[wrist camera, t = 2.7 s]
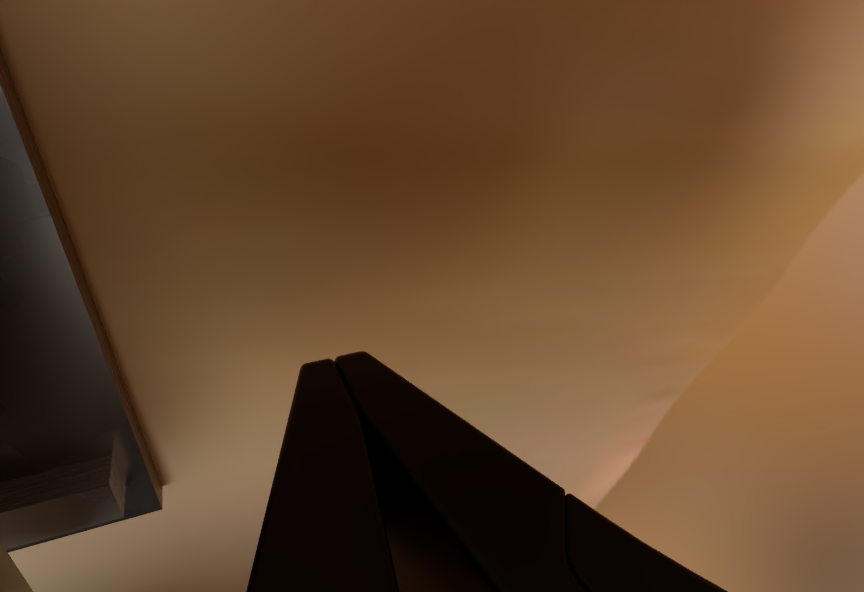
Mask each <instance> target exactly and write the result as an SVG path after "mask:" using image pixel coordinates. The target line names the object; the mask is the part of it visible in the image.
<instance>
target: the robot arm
mask: <svg viewBox="0 0 864 592" xmlns="http://www.w3.org/2000/svg"><path fill="white" fill-rule="evenodd" d="M246 592H728V591H726V590H724V589H722V588H721V587H719V586H717V585H715V584H714V583H712V582H710V581H708V580H706V579H704V578H703V577H701V576H699V575H698V574H696V573H694V572H693V571H691V570H689V569H687V568H686V567H684V566H682V565H681V564H679V563H677V562H676V561H674V560H672V559H671V558H669V557H667V556H666V555H664V554H662V553H661V552H659V551H657V550H656V549H654V548H652V547H650V546H649V545H647V544H645V543H644V542H642V541H641V540H639V539H638V538H636V537H634V536H633V535H632V534H630V533H629V532H627V531H625V530H624V529H622V528H621V527H619V526H618V525H616V524H615V523H613V522H612V521H610V520H609V519H607V518H606V517H604V516H603V515H601V514H599V513H598V512H597V511H595V510H594V509H592V508H591V507H589V506H588V505H587V504H585V503H584V502H582V501H581V500H579V499H578V498H576V497H575V496H574V495H572V494H567V495H566V496H565V490H564V489H563V488H562V487H560V486H559V485H557V484H556V483H554V482H553V481H551V480H550V479H549V478H547V477H546V476H544V475H543V474H541V473H540V472H538V471H537V470H536V469H534V468H533V467H531V466H530V465H528V464H527V463H526V462H524V461H523V460H521V459H520V458H518V457H517V456H515V455H514V454H513V453H511V452H510V451H508V450H507V449H505V448H504V447H502V446H501V445H500V444H498V443H497V442H495V441H494V440H492V439H491V438H489V437H488V436H487V435H485V434H484V433H482V432H481V431H479V430H478V429H476V428H475V427H474V426H472V425H471V424H469V423H468V422H466V421H465V420H463V419H462V418H461V417H459V416H458V415H456V414H455V413H453V412H452V411H451V410H449V409H448V408H446V407H445V406H443V405H442V404H440V403H439V402H438V401H436V400H435V399H433V398H432V397H430V396H429V395H427V394H426V393H425V392H423V391H422V390H420V389H419V388H417V387H416V386H414V385H413V384H412V383H410V382H409V381H407V380H406V379H404V378H403V377H401V376H400V375H399V374H397V373H396V372H394V371H393V370H391V369H390V368H388V367H387V366H386V365H384V364H383V363H381V362H380V361H378V360H377V359H375V358H374V357H373V356H371V355H370V354H368V353H366V352H363V351H362V352H356V353H351V354H347V355H342V356H338V357H337V358H336V359H335V361H333V360H332V359H324V360H319V361H315V362H310V363H306V364H304V365H302V367H301V369H300V372H299V377H298V381H297V385H296V389H295V393H294V397H293V401H292V405H291V410H290V414H289V418H288V422H287V426H286V430H285V434H284V438H283V443H282V447H281V451H280V455H279V459H278V463H277V467H276V471H275V476H274V480H273V484H272V488H271V492H270V496H269V500H268V504H267V509H266V513H265V517H264V521H263V525H262V529H261V533H260V537H259V542H258V546H257V550H256V554H255V558H254V562H253V566H252V570H251V575H250V579H249V583H248V587H247V591H246Z"/></svg>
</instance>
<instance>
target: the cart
mask: <svg viewBox="0 0 864 592" xmlns="http://www.w3.org/2000/svg"><path fill="white" fill-rule="evenodd" d="M0 592H33V591H32V589H31V588H30V586H29V585H28V583H27V581H26V580H25V578H24V577H23V575H22V574H21V572H20V571H19V569H18V568H17V566H16V565H15V563H14V562H13V560H12V559H11V557H10V556H9V554H8V553H7V551H6V550H5V548H4V547H3V545H2V544H1V542H0Z"/></svg>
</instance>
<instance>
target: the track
mask: <svg viewBox="0 0 864 592" xmlns="http://www.w3.org/2000/svg"><path fill="white" fill-rule="evenodd" d="M161 509H162V486H161V483H160V480H159V478H158V475H157V472H156V470H155V467H154V464H153V461H152V459H151V456H150V453H149V451H148V448H147V445H146V442H145V440H144V437H143V434H142V432H141V429H140V426H139V423H138V421H137V418H136V415H135V413H134V410H133V407H132V404H131V402H130V399H129V396H128V394H127V391H126V388H125V385H124V383H123V380H122V377H121V375H120V372H119V369H118V366H117V364H116V361H115V358H114V356H113V353H112V350H111V347H110V345H109V342H108V339H107V337H106V334H105V331H104V328H103V326H102V323H101V320H100V317H99V315H98V312H97V309H96V307H95V304H94V301H93V298H92V296H91V293H90V290H89V288H88V285H87V282H86V279H85V277H84V274H83V271H82V269H81V266H80V263H79V260H78V258H77V255H76V252H75V250H74V247H73V244H72V241H71V239H70V236H69V233H68V231H67V228H66V225H65V222H64V220H63V217H62V214H61V212H60V209H59V206H58V203H57V201H56V198H55V195H54V193H53V190H52V187H51V184H50V182H49V179H48V176H47V174H46V171H45V168H44V165H43V163H42V160H41V157H40V155H39V152H38V149H37V146H36V144H35V141H34V138H33V136H32V133H31V130H30V127H29V125H28V122H27V119H26V117H25V114H24V111H23V108H22V106H21V103H20V100H19V98H18V95H17V92H16V89H15V87H14V84H13V81H12V79H11V76H10V73H9V70H8V68H7V65H6V62H5V60H4V57H3V54H2V51H1V49H0V542H1V544H2V545H3V547H4V548H5V550H6V551H7V553H8V552H11V551H15V550H18V549H22V548H26V547H29V546H33V545H36V544H40V543H43V542H47V541H51V540H54V539H58V538H61V537H65V536H68V535H72V534H76V533H79V532H83V531H86V530H90V529H93V528H97V527H101V526H104V525H108V524H111V523H115V522H118V521H122V520H126V519H129V518H133V517H136V516H140V515H143V514H147V513H150V512H154V511H158V510H161Z"/></svg>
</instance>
